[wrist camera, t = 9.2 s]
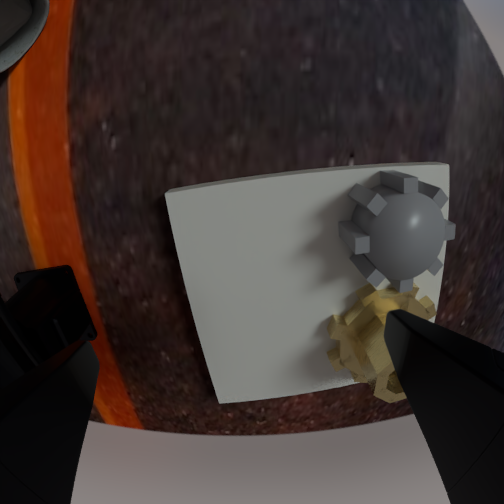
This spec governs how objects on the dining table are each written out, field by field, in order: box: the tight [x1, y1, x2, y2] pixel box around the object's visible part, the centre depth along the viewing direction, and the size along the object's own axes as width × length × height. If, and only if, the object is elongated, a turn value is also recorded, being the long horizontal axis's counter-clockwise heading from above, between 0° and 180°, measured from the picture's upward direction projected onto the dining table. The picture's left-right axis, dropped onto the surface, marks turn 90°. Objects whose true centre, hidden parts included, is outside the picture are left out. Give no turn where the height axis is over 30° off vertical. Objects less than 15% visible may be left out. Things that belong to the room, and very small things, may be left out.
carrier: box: [165, 162, 456, 403], centre depth 19 cm, size 18×17×5 cm
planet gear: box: [327, 282, 437, 403], centre depth 18 cm, size 8×8×5 cm
